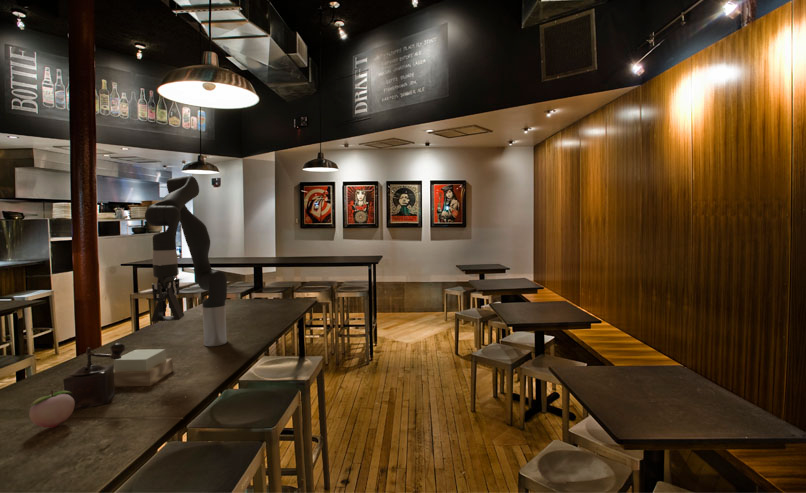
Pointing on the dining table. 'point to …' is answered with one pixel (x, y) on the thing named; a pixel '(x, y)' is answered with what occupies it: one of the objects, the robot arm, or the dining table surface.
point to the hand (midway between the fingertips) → (167, 310)
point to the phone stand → (174, 307)
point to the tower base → (143, 375)
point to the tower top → (140, 360)
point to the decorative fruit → (52, 409)
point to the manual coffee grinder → (93, 380)
